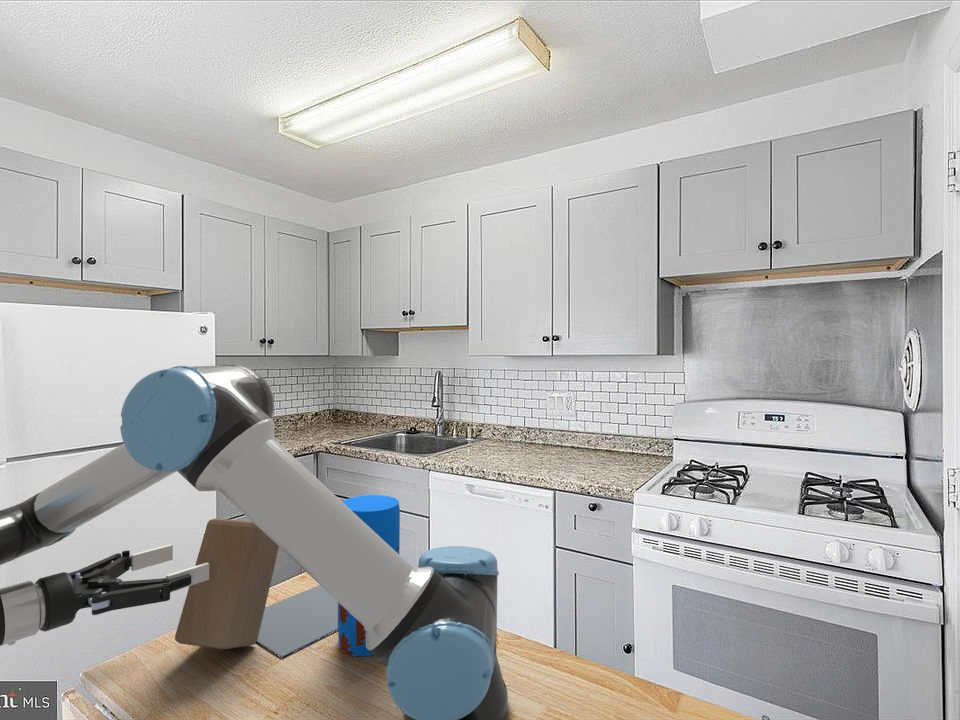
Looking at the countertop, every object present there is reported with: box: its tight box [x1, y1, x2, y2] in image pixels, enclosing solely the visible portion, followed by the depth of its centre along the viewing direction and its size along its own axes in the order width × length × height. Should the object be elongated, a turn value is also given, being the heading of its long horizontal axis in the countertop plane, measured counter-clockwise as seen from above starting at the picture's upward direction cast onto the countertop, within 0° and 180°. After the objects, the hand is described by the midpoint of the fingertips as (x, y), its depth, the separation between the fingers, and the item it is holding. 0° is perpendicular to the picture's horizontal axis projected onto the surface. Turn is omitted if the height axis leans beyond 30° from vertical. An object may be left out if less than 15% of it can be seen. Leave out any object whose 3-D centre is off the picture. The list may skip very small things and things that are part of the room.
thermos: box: [337, 494, 401, 658], centre depth 97 cm, size 11×11×25 cm
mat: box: [256, 584, 338, 658], centre depth 105 cm, size 18×21×1 cm
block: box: [174, 517, 280, 650], centre depth 95 cm, size 10×10×20 cm
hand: (189, 560), depth 94 cm, fingers open, 13 cm apart
